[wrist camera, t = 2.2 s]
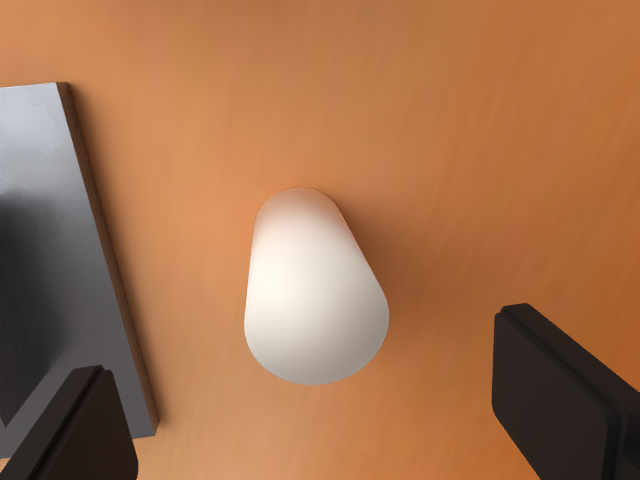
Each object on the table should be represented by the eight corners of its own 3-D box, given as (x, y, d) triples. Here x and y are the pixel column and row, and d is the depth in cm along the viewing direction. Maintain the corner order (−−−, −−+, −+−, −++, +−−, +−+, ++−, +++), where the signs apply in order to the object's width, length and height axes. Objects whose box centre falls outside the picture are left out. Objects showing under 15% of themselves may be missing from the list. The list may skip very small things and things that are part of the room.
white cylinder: (340, 182, 19) (386, 247, 12) (347, 266, 21) (391, 374, 13) (247, 193, 19) (233, 267, 11) (260, 278, 20) (255, 394, 13)
